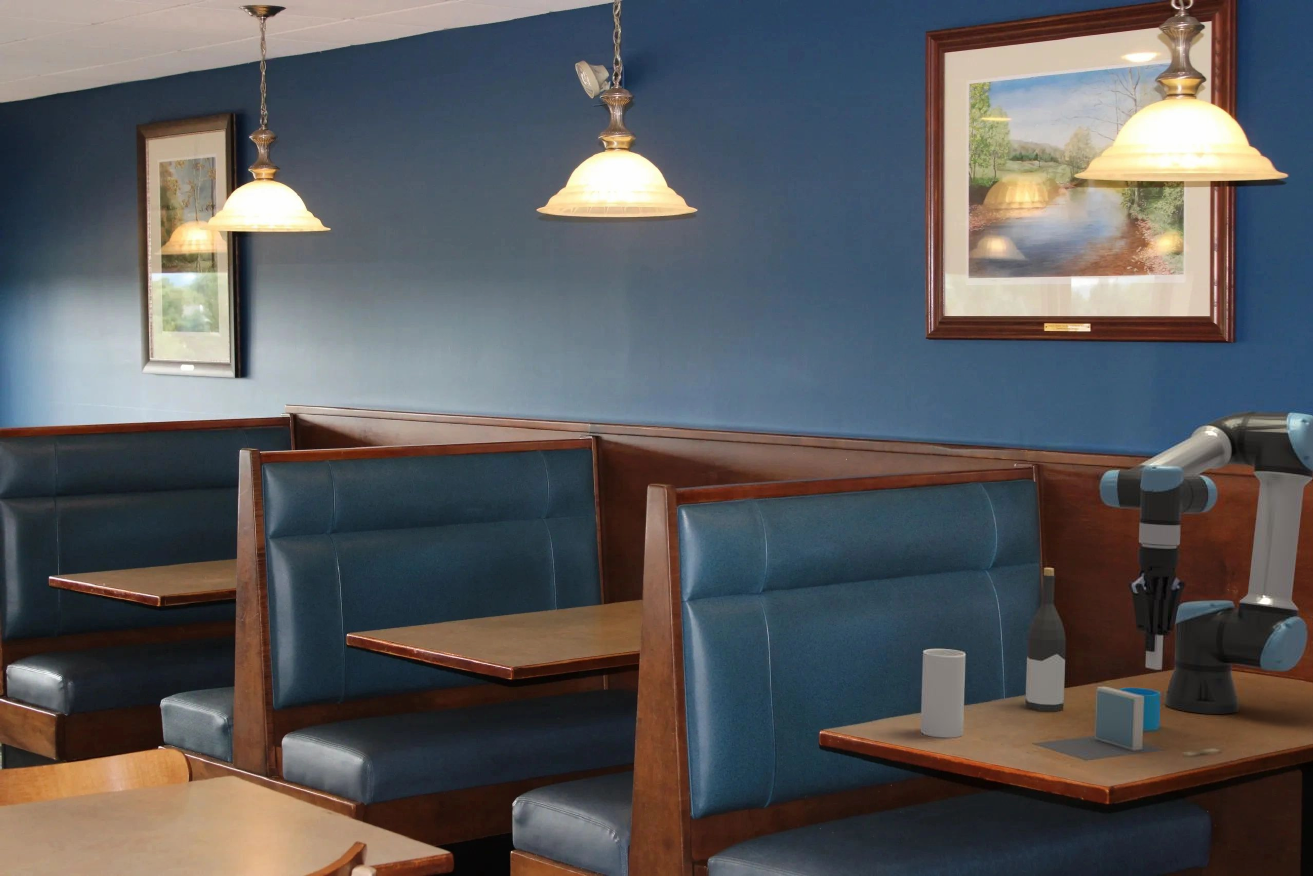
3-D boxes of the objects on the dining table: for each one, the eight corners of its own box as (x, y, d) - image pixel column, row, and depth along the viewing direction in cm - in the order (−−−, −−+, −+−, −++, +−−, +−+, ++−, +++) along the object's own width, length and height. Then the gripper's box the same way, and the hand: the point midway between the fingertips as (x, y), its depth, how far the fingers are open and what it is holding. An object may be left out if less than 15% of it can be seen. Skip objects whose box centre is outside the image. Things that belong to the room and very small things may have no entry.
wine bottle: (1050, 703, 339) (1055, 565, 338) (1071, 711, 332) (1076, 570, 331) (1017, 704, 337) (1022, 566, 336) (1038, 712, 329) (1043, 571, 328)
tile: (1103, 737, 302) (1104, 686, 302) (1142, 749, 293) (1144, 696, 293) (1093, 739, 301) (1095, 687, 300) (1132, 750, 292) (1134, 697, 292)
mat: (1109, 740, 306) (1109, 733, 306) (1164, 756, 293) (1164, 749, 293) (1031, 749, 296) (1032, 743, 296) (1085, 766, 284) (1085, 760, 284)
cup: (965, 730, 311) (968, 650, 310) (959, 739, 303) (962, 657, 302) (924, 726, 313) (926, 647, 313) (917, 735, 306) (919, 654, 305)
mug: (1168, 735, 311) (1169, 694, 311) (1134, 738, 308) (1136, 696, 308) (1128, 722, 322) (1130, 683, 322) (1096, 724, 319) (1097, 685, 319)
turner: (1204, 754, 295) (1204, 746, 295) (1229, 761, 290) (1229, 753, 290) (1141, 763, 288) (1142, 755, 288) (1166, 771, 282) (1167, 762, 282)
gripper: (1168, 543, 306) (1163, 663, 307) (1119, 544, 300) (1114, 666, 301) (1198, 547, 300) (1192, 669, 300) (1149, 548, 293) (1143, 673, 294)
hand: (1153, 668), depth 301 cm, fingers closed
